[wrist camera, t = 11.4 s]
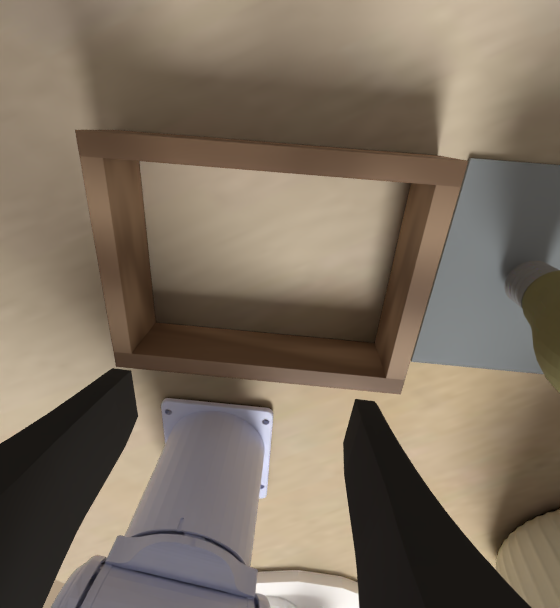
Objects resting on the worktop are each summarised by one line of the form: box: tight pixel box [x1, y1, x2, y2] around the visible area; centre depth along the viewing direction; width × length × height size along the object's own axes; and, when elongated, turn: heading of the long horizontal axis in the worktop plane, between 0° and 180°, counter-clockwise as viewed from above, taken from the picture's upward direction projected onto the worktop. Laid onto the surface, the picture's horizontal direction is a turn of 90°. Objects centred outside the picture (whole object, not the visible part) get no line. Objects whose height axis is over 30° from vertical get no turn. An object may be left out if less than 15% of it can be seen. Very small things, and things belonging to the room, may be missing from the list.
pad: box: [411, 158, 560, 374], centre depth 19 cm, size 12×9×1 cm
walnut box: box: [75, 130, 468, 394], centre depth 18 cm, size 12×16×4 cm
